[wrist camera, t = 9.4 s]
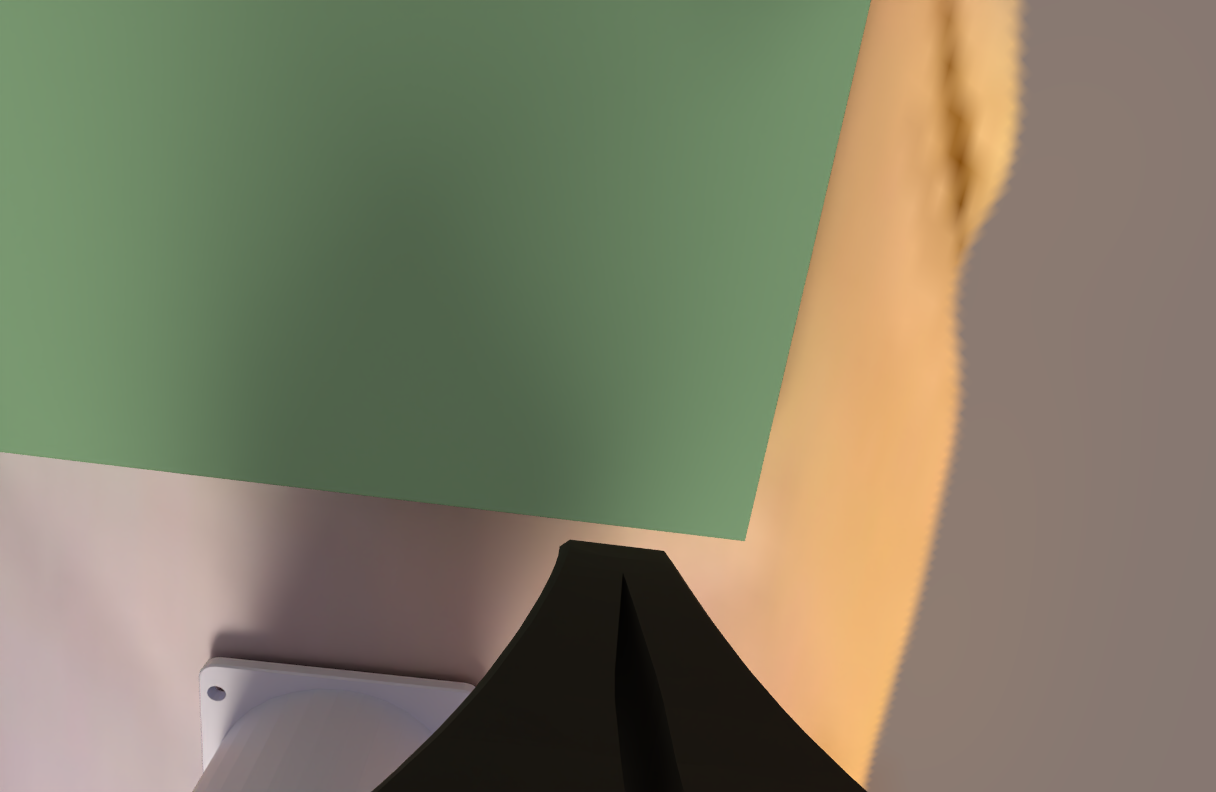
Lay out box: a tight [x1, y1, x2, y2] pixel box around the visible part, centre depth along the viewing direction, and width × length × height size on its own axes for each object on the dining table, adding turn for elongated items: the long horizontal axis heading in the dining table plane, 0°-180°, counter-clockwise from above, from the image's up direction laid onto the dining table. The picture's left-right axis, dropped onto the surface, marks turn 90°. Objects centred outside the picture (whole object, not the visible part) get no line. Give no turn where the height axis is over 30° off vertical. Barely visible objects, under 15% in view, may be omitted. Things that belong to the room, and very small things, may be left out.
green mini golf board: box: [0, 0, 871, 541], centre depth 16 cm, size 14×30×4 cm, turn 82°
